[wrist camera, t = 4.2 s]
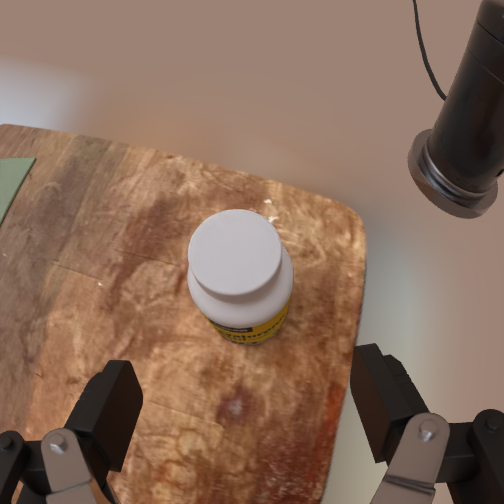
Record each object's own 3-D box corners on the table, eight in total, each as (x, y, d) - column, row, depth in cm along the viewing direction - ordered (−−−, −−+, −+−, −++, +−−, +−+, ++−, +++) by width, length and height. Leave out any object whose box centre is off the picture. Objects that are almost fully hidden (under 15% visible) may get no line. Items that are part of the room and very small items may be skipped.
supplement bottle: (216, 353, 21) (175, 321, 12) (205, 280, 23) (166, 206, 14) (294, 339, 21) (313, 296, 12) (278, 266, 23) (282, 184, 14)
